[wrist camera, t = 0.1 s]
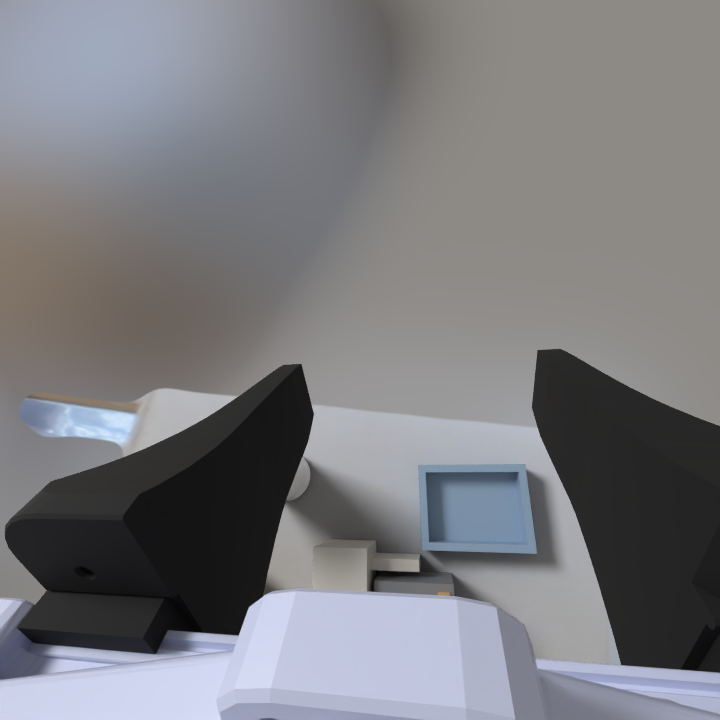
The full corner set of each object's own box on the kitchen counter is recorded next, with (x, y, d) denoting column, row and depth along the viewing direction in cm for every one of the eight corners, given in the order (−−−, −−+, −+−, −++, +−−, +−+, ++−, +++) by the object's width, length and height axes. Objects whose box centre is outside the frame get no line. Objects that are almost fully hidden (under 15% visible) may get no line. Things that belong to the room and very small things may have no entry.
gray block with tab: (382, 621, 38) (370, 650, 31) (381, 569, 39) (369, 587, 32) (455, 625, 36) (459, 658, 29) (451, 572, 38) (454, 591, 31)
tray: (530, 549, 37) (537, 553, 35) (422, 546, 39) (422, 550, 37) (520, 465, 40) (525, 464, 37) (419, 466, 41) (418, 465, 39)
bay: (424, 658, 36) (422, 689, 30) (327, 650, 38) (308, 678, 32) (419, 541, 39) (417, 550, 34) (330, 539, 41) (313, 546, 35)
